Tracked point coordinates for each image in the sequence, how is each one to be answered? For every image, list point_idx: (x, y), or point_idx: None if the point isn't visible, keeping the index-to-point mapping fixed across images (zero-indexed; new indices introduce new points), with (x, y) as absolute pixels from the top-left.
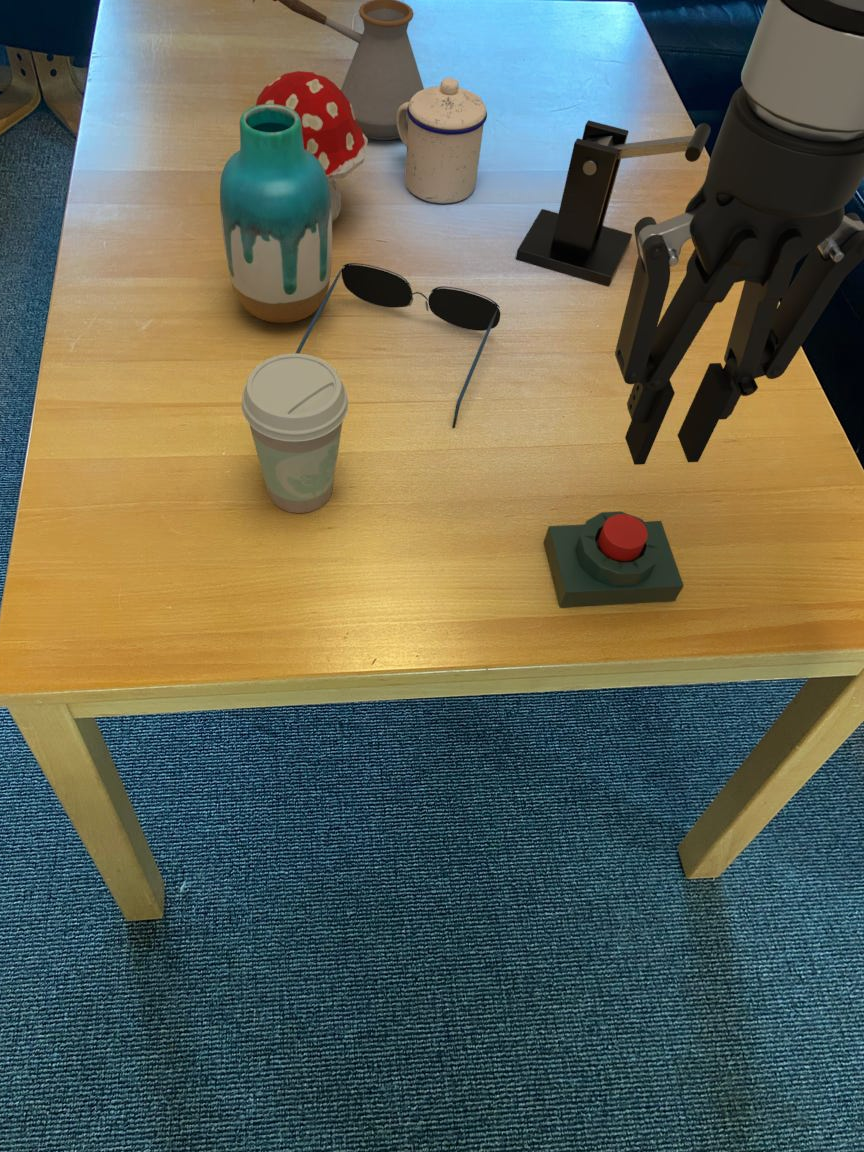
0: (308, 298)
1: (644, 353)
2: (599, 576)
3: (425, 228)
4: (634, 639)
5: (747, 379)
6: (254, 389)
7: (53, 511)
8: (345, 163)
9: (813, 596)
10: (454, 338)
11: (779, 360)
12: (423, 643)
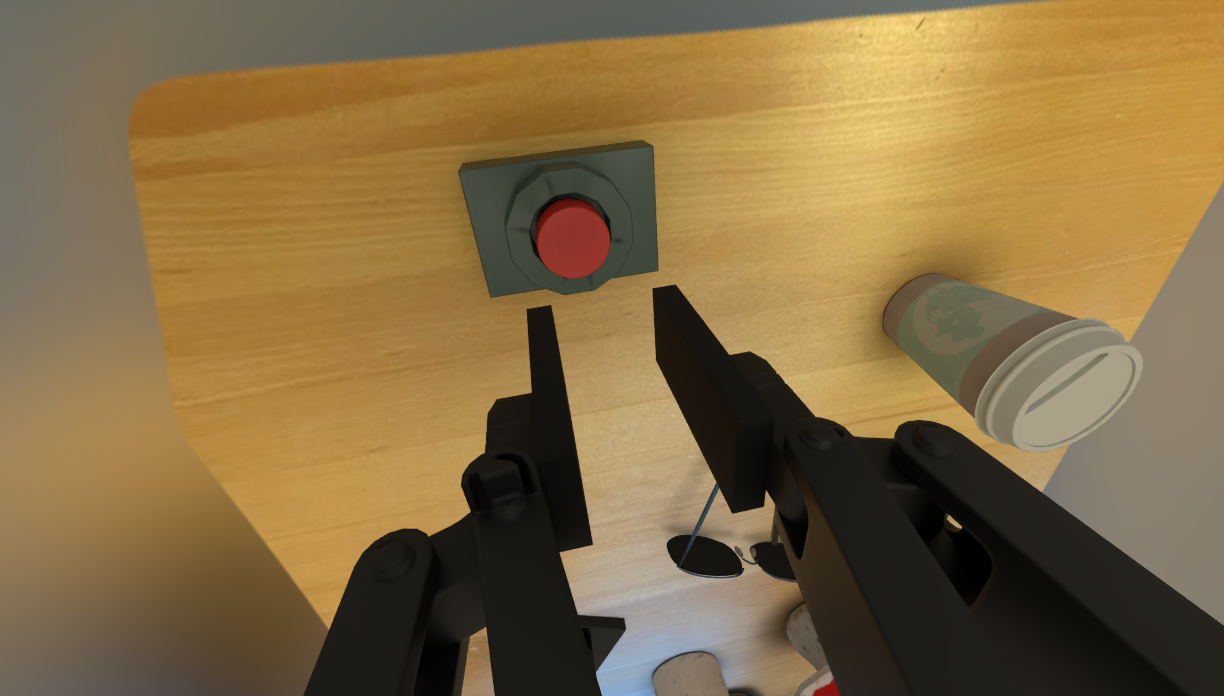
0: None
1: (1023, 528)
2: (602, 174)
3: (707, 627)
4: (532, 79)
5: (504, 509)
6: (1122, 387)
7: (1163, 249)
8: (829, 681)
9: (215, 188)
10: (703, 522)
11: (390, 615)
12: (846, 61)
